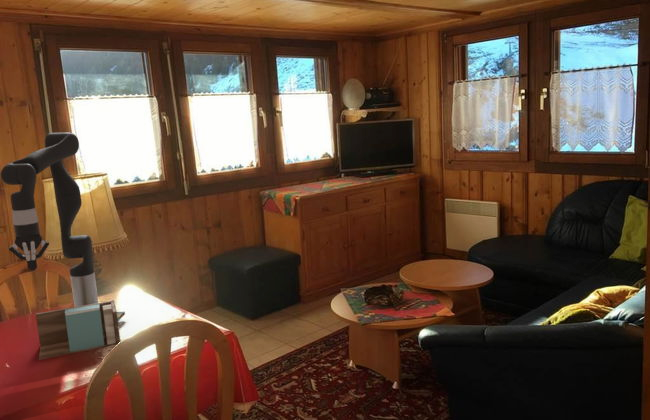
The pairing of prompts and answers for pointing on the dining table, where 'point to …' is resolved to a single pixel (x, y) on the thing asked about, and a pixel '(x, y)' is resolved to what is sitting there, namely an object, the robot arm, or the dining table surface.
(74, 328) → the rectangular block
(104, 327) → the open wooden box
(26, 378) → the dining table surface
